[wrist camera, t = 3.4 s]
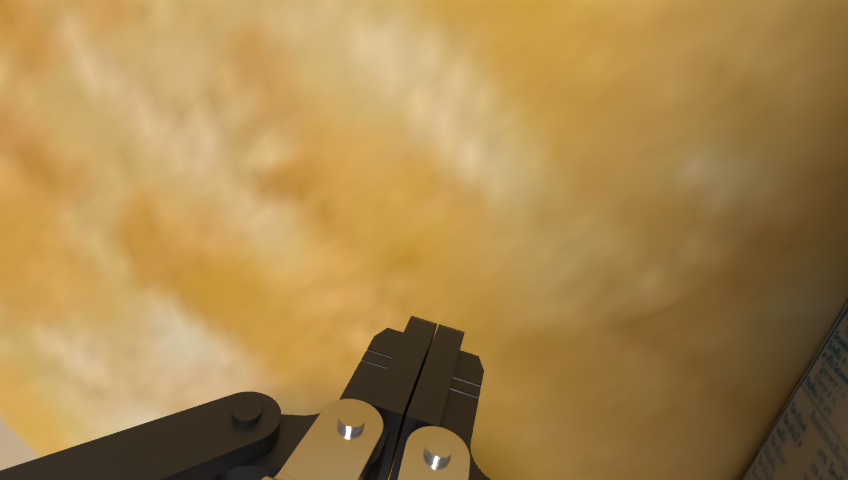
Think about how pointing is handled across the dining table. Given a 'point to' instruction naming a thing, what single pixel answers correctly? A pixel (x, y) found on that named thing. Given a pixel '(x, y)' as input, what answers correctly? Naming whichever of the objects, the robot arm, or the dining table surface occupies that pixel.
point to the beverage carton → (812, 420)
